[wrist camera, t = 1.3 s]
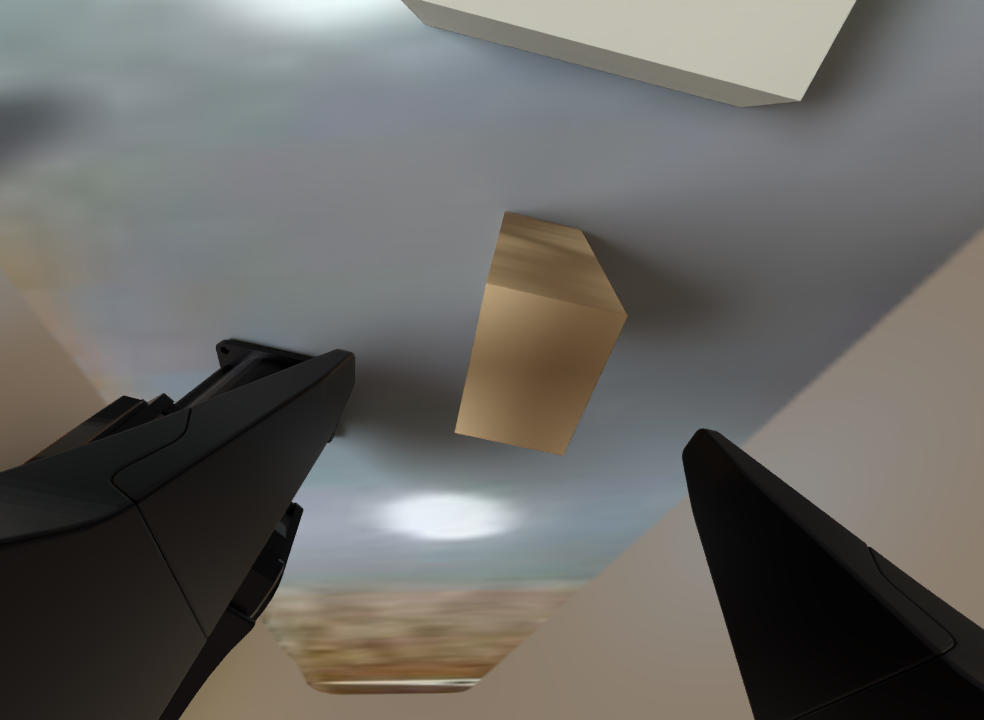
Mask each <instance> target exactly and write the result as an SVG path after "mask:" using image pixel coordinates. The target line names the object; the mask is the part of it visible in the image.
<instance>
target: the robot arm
mask: <svg viewBox="0 0 984 720" xmlns="http://www.w3.org/2000/svg"><path fill="white" fill-rule="evenodd" d="M216 351H217V355H218V359H219V363H220V367H221V368H220V369H219V370H217V371H216V372H215V373H214V374H212V375H211V376H210V377H208V378H207V379H206V380H205V381H203V382H202V383H201V384H200V385H198V386H197V387H196V388H194V389H193V390H192V391H191V392H189V393H188V394H187V395H185V396H184V397H183V398H182V399H180V400H179V401H178V402H176V403H175V404H173V402H174V401H173V400H172V399H171V398H169V397H168V396H167V395H166V394H165V393H163V394H161V395H159V396H157V397H156V398H154V399H152V400H150V401H148V402H146V401H145V400H143V399H142V400H139V399H135V398H132V397H128V396H122V397H120V398H119V399H117V400H115V401H114V402H112V403H111V404H109V405H108V406H106V407H105V408H103V409H102V410H100V411H99V412H97V413H96V414H94V415H93V416H91V417H90V418H88V419H87V420H85V421H83V422H82V423H80V424H79V425H78V426H76V427H75V428H73V429H72V430H70V431H69V432H67V433H66V434H64V435H63V436H61V437H60V438H59V439H57V440H56V441H54V442H53V443H51V444H50V445H49V446H47V447H46V448H44V449H43V450H41V451H40V452H39V453H37V454H36V455H34V456H33V457H31V458H30V459H28V460H27V461H26V462H24V463H23V464H21V465H20V466H17V467H14V468H11V469H9V470H5V471H3V472H0V720H178V719H179V718H180V716H181V715H182V714H183V712H184V711H185V709H186V708H187V706H188V705H189V703H190V702H191V700H192V699H193V698H194V696H195V695H196V693H197V692H198V691H199V689H200V688H201V686H202V685H203V684H204V682H205V681H206V680H207V678H208V677H209V676H210V674H211V673H212V672H213V671H214V670H215V668H216V667H217V666H218V665H219V664H220V662H221V661H222V660H223V659H224V658H225V656H226V655H227V654H228V653H229V652H230V651H231V650H232V649H233V648H234V647H235V646H236V645H237V644H238V643H239V642H240V641H241V640H242V639H243V638H244V637H245V635H247V634H248V633H249V632H250V631H251V630H252V628H253V627H254V625H255V621H256V620H257V618H258V617H259V616H260V615H261V613H262V612H263V611H264V610H265V608H266V607H267V605H268V604H269V602H270V601H271V599H272V598H273V596H274V594H275V592H276V590H277V588H278V586H279V584H280V581H281V579H282V576H283V573H284V570H285V567H286V563H287V560H288V557H289V554H290V551H291V548H292V545H293V541H294V538H295V535H296V532H297V529H298V526H299V523H300V519H301V516H302V513H303V508H302V507H301V506H300V505H298V504H297V503H293V502H292V500H293V498H294V496H295V495H296V493H297V491H298V490H299V488H300V487H301V485H302V483H303V482H304V480H305V478H306V477H307V475H308V474H309V472H310V470H311V469H312V467H313V465H314V464H315V462H316V460H317V459H318V457H319V456H320V454H321V452H322V451H323V449H324V447H325V446H326V444H327V443H330V442H331V441H332V439H333V438H334V435H335V433H334V430H335V428H336V427H337V422H338V420H339V418H340V415H341V413H342V411H343V409H344V407H345V404H346V402H347V400H348V398H349V396H350V393H351V391H352V389H353V386H354V383H355V355H354V353H353V352H350V351H345V350H341V349H336V350H333V351H331V352H328V353H325V354H323V355H320V356H318V357H315V358H309V357H305V356H300V355H296V354H291V353H286V352H282V351H277V350H273V349H268V348H263V347H259V346H254V345H250V344H245V343H240V342H236V341H231V340H222V341H221V342H220V343H218V344H217V345H216ZM682 461H683V466H684V471H685V476H686V482H687V487H688V492H689V497H690V502H691V507H692V512H693V516H694V519H695V523H696V526H697V530H698V533H699V536H700V539H701V542H702V546H703V550H704V553H705V556H706V560H707V563H708V566H709V569H710V573H711V576H712V580H713V583H714V586H715V590H716V593H717V596H718V599H719V603H720V606H721V609H722V613H723V616H724V619H725V623H726V626H727V629H728V633H729V636H730V639H731V643H732V646H733V649H734V653H735V656H736V659H737V663H738V666H739V669H740V673H741V676H742V679H743V683H744V686H745V689H746V693H747V696H748V699H749V703H750V706H751V709H752V713H753V716H754V719H755V720H984V629H983V628H981V627H980V626H978V625H977V624H975V623H974V622H973V621H971V620H970V619H968V618H967V617H966V616H964V615H963V614H961V613H960V612H958V611H957V610H956V609H954V608H953V607H951V606H950V605H948V604H947V603H946V602H944V601H943V600H942V599H940V598H939V597H937V596H936V595H935V594H933V593H932V592H931V591H929V590H927V589H926V588H925V587H923V586H922V585H921V584H919V583H918V582H917V581H915V580H914V579H913V578H911V577H910V576H908V575H907V574H906V573H904V572H903V571H902V570H900V569H899V568H898V567H896V566H895V565H894V564H892V563H891V562H890V561H888V560H887V559H886V558H884V557H883V556H882V555H880V554H879V553H878V552H876V551H875V550H874V549H872V548H871V547H867V545H866V543H864V542H863V541H862V540H860V539H859V538H858V537H857V536H855V535H854V534H852V533H851V532H850V531H848V530H847V529H846V528H845V527H843V526H842V525H841V524H839V523H838V522H837V521H835V520H834V519H833V518H831V517H830V516H829V515H827V514H826V513H825V512H823V511H822V510H821V509H819V508H818V507H817V506H815V505H814V504H813V503H812V502H810V501H809V500H808V499H806V498H805V497H803V496H802V495H801V494H800V493H798V492H797V491H796V490H794V489H793V488H792V487H790V486H789V485H788V484H786V483H785V482H784V481H782V480H781V479H780V478H778V477H777V476H776V475H774V474H773V473H772V472H770V471H769V470H768V469H767V468H765V467H764V466H762V465H761V464H760V463H759V462H757V461H756V460H755V459H753V458H752V457H750V456H749V455H748V454H747V453H745V452H744V451H743V450H741V449H740V448H739V447H737V446H736V445H735V444H733V443H732V442H731V441H729V440H728V439H727V438H725V437H724V436H723V435H722V434H720V433H719V432H717V431H713V430H709V429H704V428H702V429H699V430H697V431H696V433H695V434H694V435H693V437H692V438H691V440H690V441H689V442H688V444H687V445H686V447H685V448H684V450H683V453H682Z"/></svg>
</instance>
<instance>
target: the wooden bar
mask: <svg viewBox="0 0 984 720" xmlns="http://www.w3.org/2000/svg"><path fill="white" fill-rule="evenodd" d="M627 317H628V316H627V314H626V312H625V310H624V308H623V306H622V304H621V303H620V301H619V299H618V297H617V295H616V293H615V292H614V290H613V288H612V286H611V284H610V282H609V281H608V279H607V277H606V275H605V273H604V271H603V269H602V268H601V266H600V264H599V262H598V260H597V258H596V257H595V255H594V253H593V251H592V249H591V247H590V246H589V244H588V242H587V240H586V238H585V236H584V235H583V233H582V231H581V230H580V229H576V228H572V227H568V226H564V225H560V224H555V223H551V222H547V221H543V220H539V219H535V218H531V217H527V216H522V215H518V214H514V213H510V212H506V211H505V214H504V218H503V222H502V226H501V229H500V233H499V237H498V241H497V245H496V249H495V252H494V256H493V260H492V264H491V268H490V271H489V275H488V279H487V283H486V288H485V292H484V297H483V302H482V306H481V311H480V316H479V320H478V325H477V330H476V335H475V339H474V344H473V349H472V353H471V358H470V363H469V367H468V372H467V377H466V382H465V386H464V391H463V396H462V400H461V405H460V410H459V414H458V419H457V424H456V429H455V433H458V434H463V435H468V436H472V437H477V438H482V439H487V440H491V441H496V442H501V443H505V444H510V445H515V446H520V447H524V448H529V449H534V450H538V451H543V452H548V453H553V454H557V455H562V456H563V455H564V453H565V451H566V449H567V446H568V444H569V442H570V440H571V438H572V436H573V433H574V431H575V429H576V427H577V425H578V423H579V421H580V418H581V416H582V414H583V412H584V410H585V408H586V405H587V403H588V401H589V399H590V397H591V395H592V392H593V390H594V388H595V386H596V384H597V382H598V380H599V377H600V375H601V373H602V371H603V369H604V367H605V364H606V362H607V360H608V358H609V356H610V354H611V352H612V349H613V347H614V345H615V343H616V341H617V339H618V336H619V334H620V332H621V330H622V328H623V326H624V323H625V321H626V319H627Z"/></svg>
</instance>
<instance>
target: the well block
mask: <svg viewBox="0 0 984 720" xmlns="http://www.w3.org/2000/svg"><path fill="white" fill-rule="evenodd" d="M401 1H402V2H403V3H404V4H405V5H406V6H407V7H408V8H409V9H410V10H411V11H412V12H413V13H414V14H415V15H416V16H417V17H418V18H419V19H420V20H421V21H422V22H423V23H424V24H425V25H429V26H433V27H437V28H441V29H444V30H448V31H452V32H456V33H460V34H463V35H467V36H471V37H475V38H479V39H483V40H486V41H490V42H494V43H498V44H502V45H505V46H509V47H513V48H517V49H521V50H524V51H528V52H532V53H536V54H540V55H543V56H547V57H551V58H555V59H559V60H562V61H566V62H570V63H574V64H578V65H581V66H585V67H589V68H593V69H597V70H600V71H604V72H608V73H612V74H616V75H619V76H623V77H627V78H631V79H635V80H638V81H642V82H646V83H650V84H654V85H657V86H661V87H665V88H669V89H673V90H677V91H680V92H684V93H688V94H692V95H696V96H699V97H703V98H707V99H711V100H715V101H718V102H722V103H726V104H730V105H734V106H737V107H749V106H759V105H768V104H778V103H787V102H797V101H801V99H802V98H803V96H804V94H805V92H806V90H807V89H808V87H809V85H810V83H811V81H812V79H813V78H814V76H815V74H816V72H817V70H818V69H819V67H820V65H821V63H822V61H823V60H824V58H825V56H826V54H827V52H828V51H829V49H830V47H831V45H832V43H833V42H834V40H835V38H836V36H837V34H838V33H839V31H840V29H841V27H842V25H843V24H844V22H845V20H846V18H847V16H848V14H849V13H850V11H851V9H852V7H853V5H854V4H855V2H856V0H401Z"/></svg>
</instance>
